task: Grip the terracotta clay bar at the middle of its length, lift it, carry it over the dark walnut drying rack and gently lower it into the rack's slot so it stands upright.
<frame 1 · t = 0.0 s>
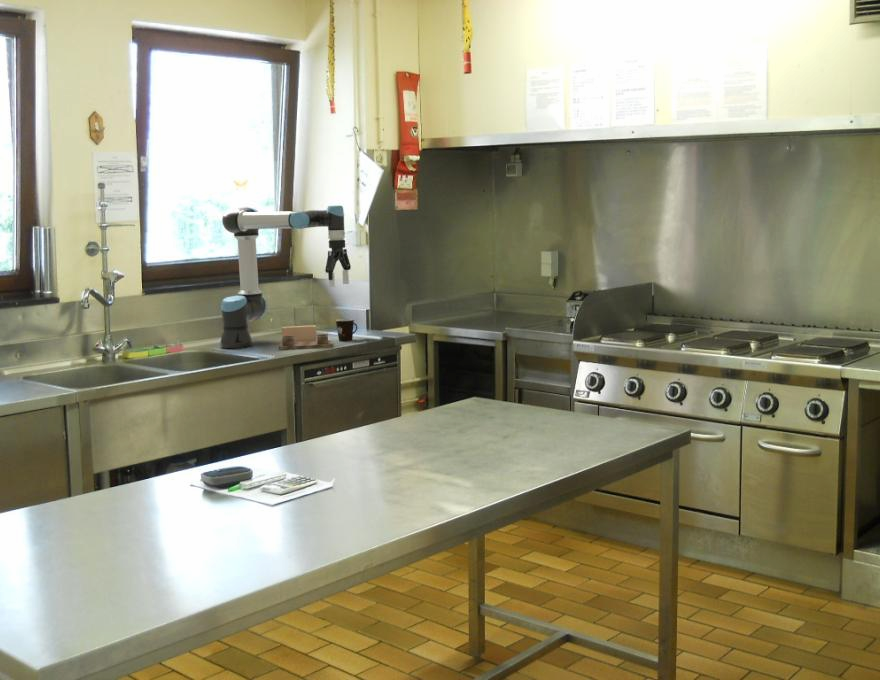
hand: (339, 285, 475), 28 cm above the counter, fingers open, 13 cm apart
drying rack: (305, 346, 479), on the counter
coffee mug: (346, 341, 493), on the counter
clay bar: (299, 343, 491), on the counter
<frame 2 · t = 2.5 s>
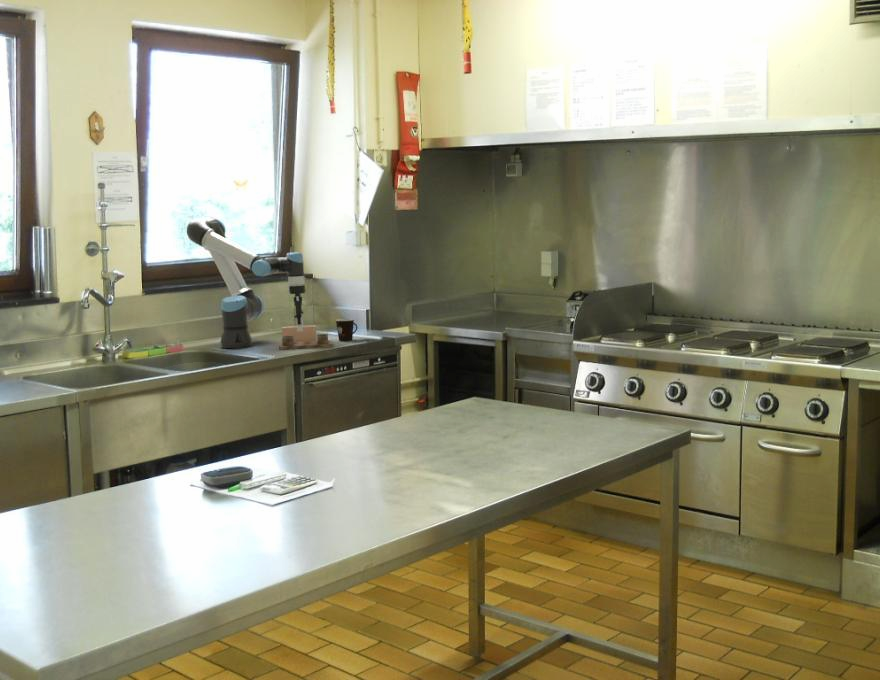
hand: (300, 329, 490), 6 cm above the counter, fingers open, 13 cm apart
nothing on the counter moved.
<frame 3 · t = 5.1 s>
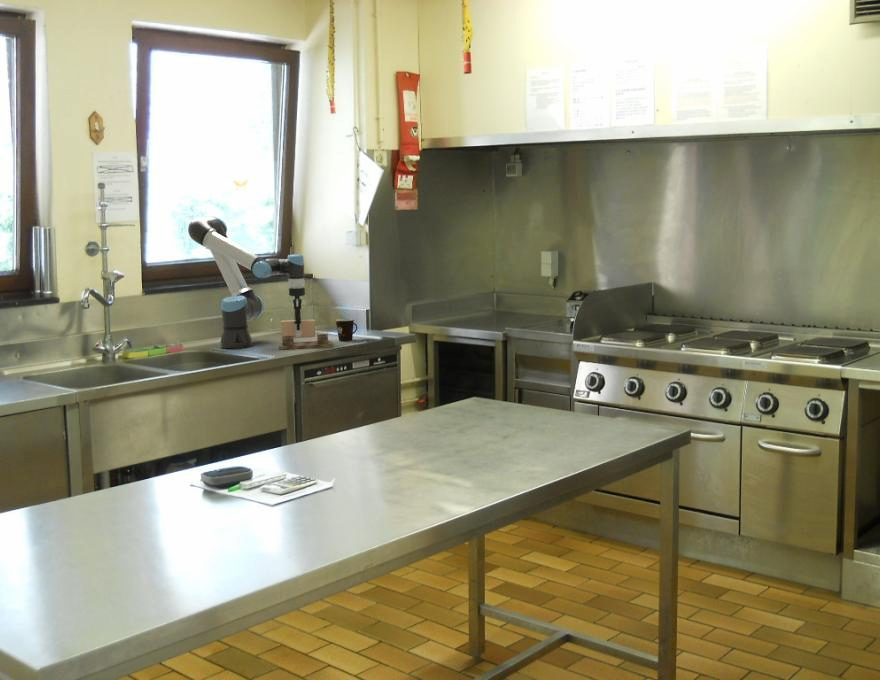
hand: (298, 336, 491), 3 cm above the counter, fingers closed on clay bar, 3 cm apart
clay bar: (298, 337, 491), point 3 cm above the counter, touching gripper
everything else where it was.
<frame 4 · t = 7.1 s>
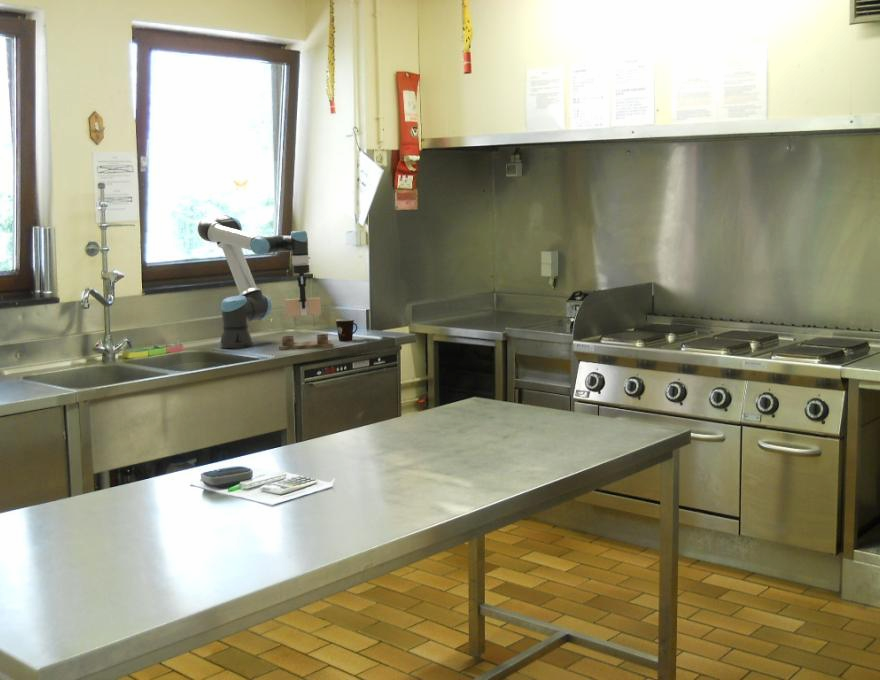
hand: (303, 314, 478), 15 cm above the counter, fingers closed on clay bar, 3 cm apart
clay bar: (303, 315, 478), point 14 cm above the counter, touching gripper
everything else where it was.
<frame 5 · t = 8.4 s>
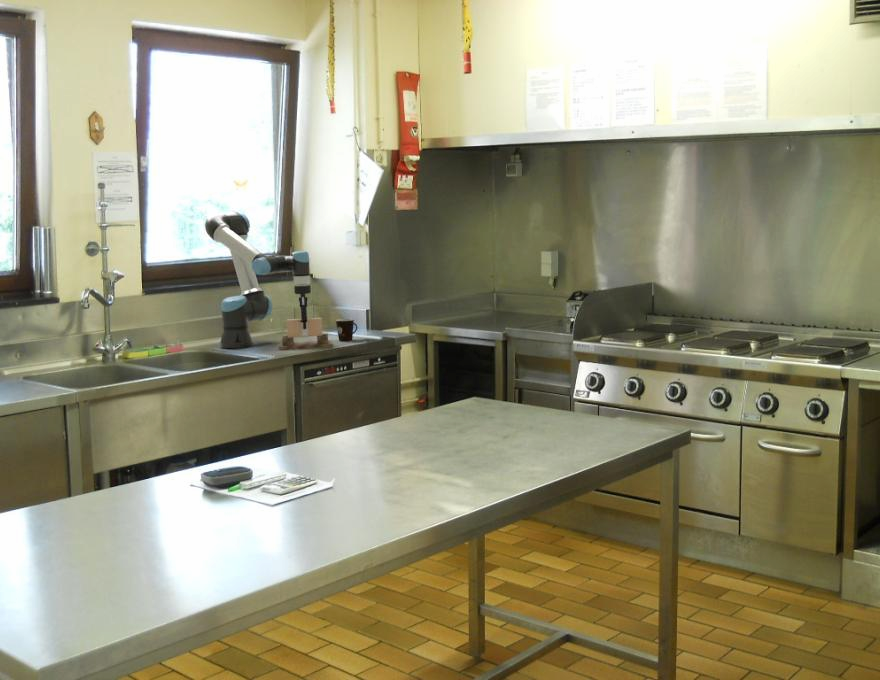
hand: (305, 335, 478), 5 cm above the counter, fingers closed on clay bar, 3 cm apart
clay bar: (305, 336, 478), point 5 cm above the counter, touching gripper
everything else where it was.
when the fingers open (3 cm above the counter, at t = 9.5 s): clay bar stays where it is, resting on drying rack.
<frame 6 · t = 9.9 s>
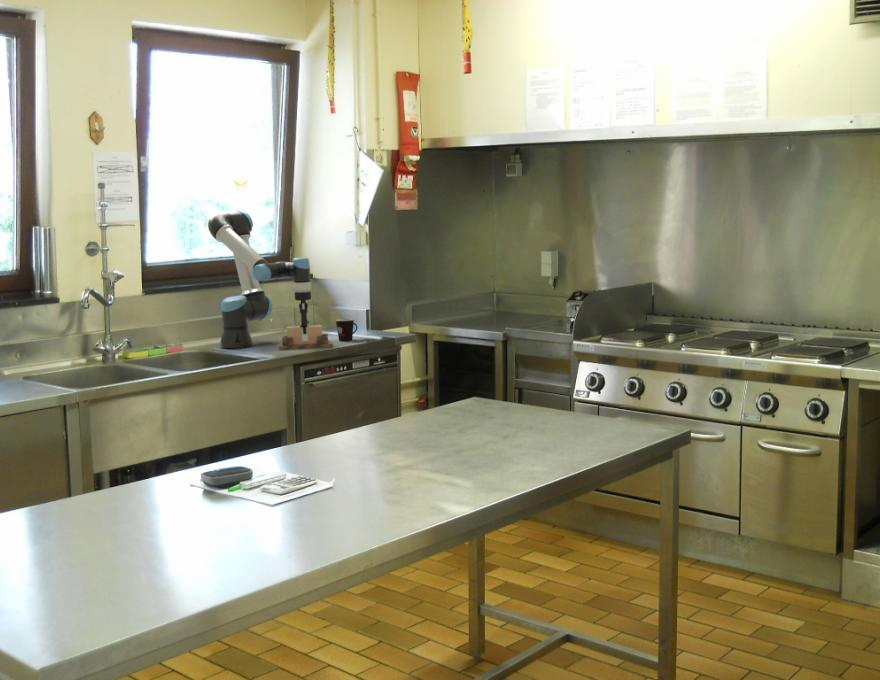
hand: (305, 339, 478), 4 cm above the counter, fingers open, 9 cm apart
clay bar: (305, 343, 478), point 1 cm above the counter, touching drying rack
everything else where it was.
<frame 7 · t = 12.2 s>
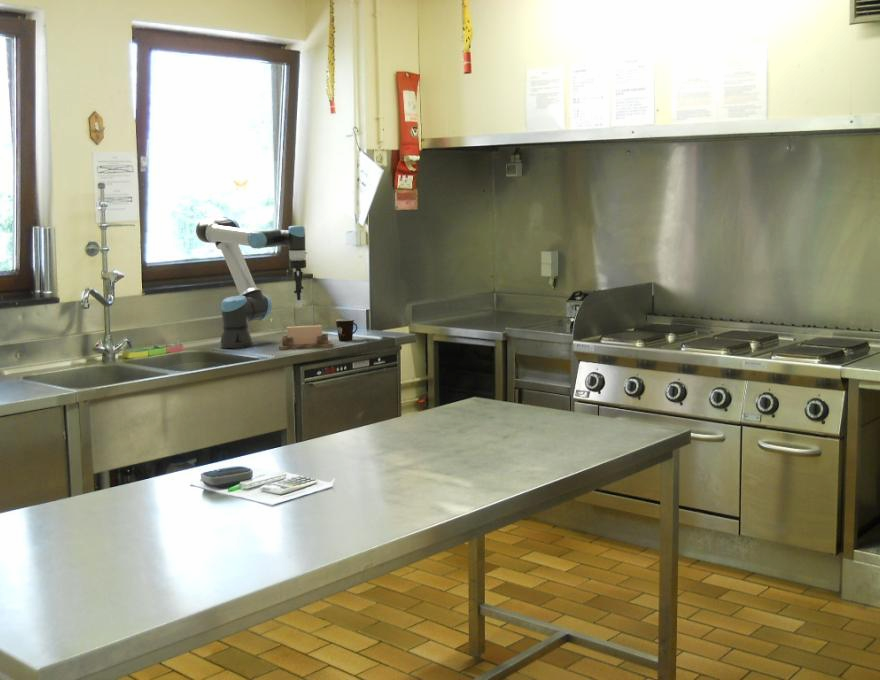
hand: (299, 305, 478), 19 cm above the counter, fingers open, 13 cm apart
nothing on the counter moved.
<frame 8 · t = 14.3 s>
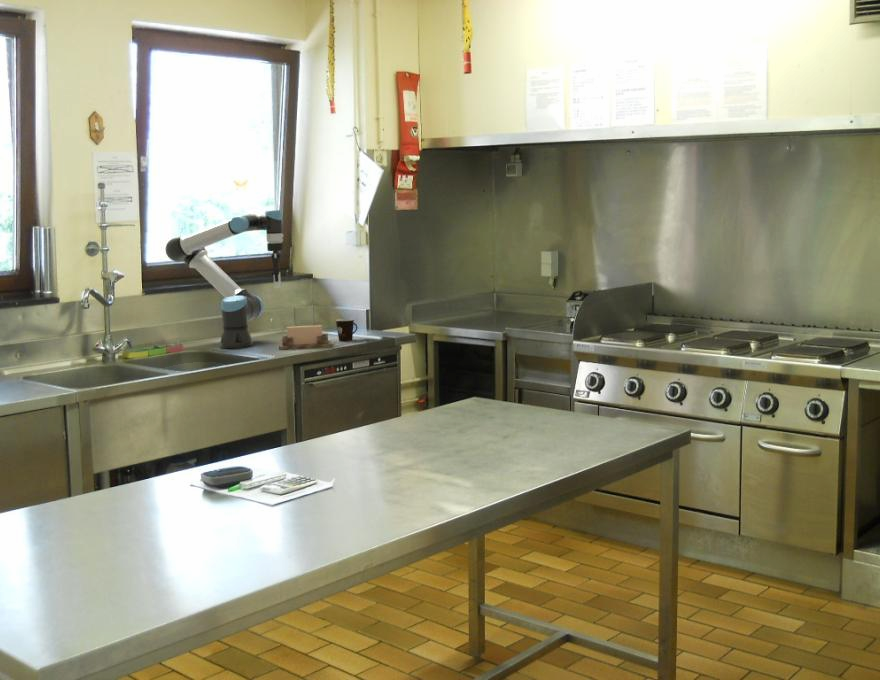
hand: (277, 287, 490), 27 cm above the counter, fingers open, 13 cm apart
nothing on the counter moved.
at the end: clay bar 0.1 cm off-centre on the drying rack, point 1.5 cm above the drying rack's base; clay bar tilted 0°; the gripper is holding nothing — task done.
